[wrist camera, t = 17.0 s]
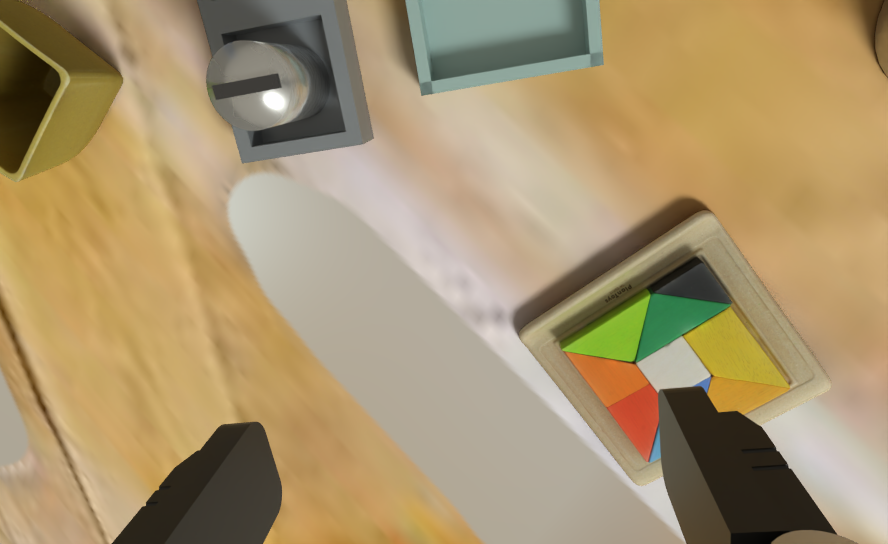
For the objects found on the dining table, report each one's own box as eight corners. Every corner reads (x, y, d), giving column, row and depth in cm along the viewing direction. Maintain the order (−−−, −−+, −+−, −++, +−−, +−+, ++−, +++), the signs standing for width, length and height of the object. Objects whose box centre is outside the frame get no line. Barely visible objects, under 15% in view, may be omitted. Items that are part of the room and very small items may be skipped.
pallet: (185, -130, 38) (156, -148, 35) (314, -162, 36) (295, -183, 33) (261, 156, 44) (242, 163, 41) (373, 138, 43) (363, 144, 39)
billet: (320, 38, 39) (274, 32, 32) (337, 112, 41) (297, 124, 33) (253, 52, 40) (192, 49, 32) (272, 124, 42) (218, 137, 34)
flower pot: (10, 91, 44) (-107, 96, 36) (55, -7, 41) (-60, -26, 33) (107, 163, 46) (16, 186, 37) (157, 73, 43) (71, 75, 34)
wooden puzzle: (702, 198, 42) (718, 210, 39) (828, 381, 46) (853, 405, 43) (512, 326, 47) (512, 345, 44) (639, 480, 51) (648, 509, 48)
